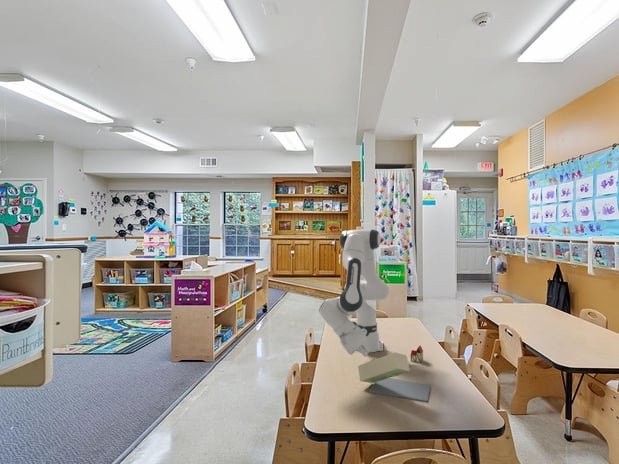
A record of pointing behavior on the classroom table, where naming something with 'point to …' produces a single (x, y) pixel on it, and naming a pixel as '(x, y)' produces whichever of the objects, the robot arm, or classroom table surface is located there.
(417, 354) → the toy house
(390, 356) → the toy refrigerator
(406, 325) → the classroom table surface
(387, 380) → the mat
